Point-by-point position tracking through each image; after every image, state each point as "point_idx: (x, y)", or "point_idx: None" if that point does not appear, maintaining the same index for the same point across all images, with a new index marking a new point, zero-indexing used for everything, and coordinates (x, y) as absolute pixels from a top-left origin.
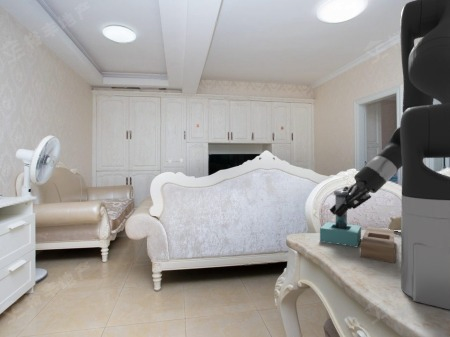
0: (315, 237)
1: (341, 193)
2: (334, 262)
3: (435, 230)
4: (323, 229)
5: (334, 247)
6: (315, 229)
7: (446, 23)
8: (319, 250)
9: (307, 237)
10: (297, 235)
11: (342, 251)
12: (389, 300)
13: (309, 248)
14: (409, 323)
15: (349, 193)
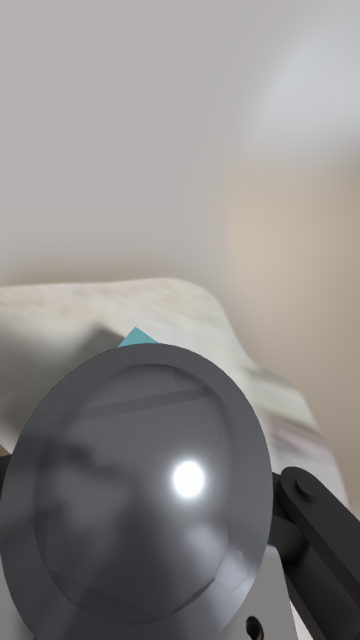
0: (184, 348)
1: (43, 410)
2: None
3: None
4: (126, 337)
5: (68, 362)
6: (294, 392)
7: None
8: (53, 307)
9: (184, 323)
10: (206, 303)
11: (24, 369)
12: None
13: (77, 289)
14: None
15: (20, 634)
